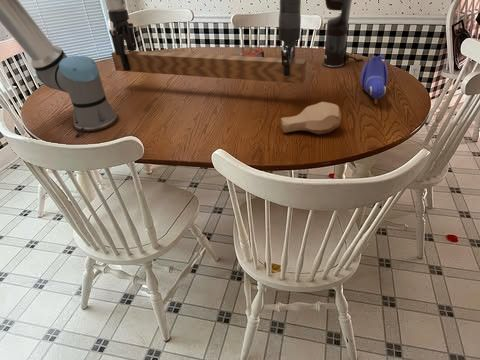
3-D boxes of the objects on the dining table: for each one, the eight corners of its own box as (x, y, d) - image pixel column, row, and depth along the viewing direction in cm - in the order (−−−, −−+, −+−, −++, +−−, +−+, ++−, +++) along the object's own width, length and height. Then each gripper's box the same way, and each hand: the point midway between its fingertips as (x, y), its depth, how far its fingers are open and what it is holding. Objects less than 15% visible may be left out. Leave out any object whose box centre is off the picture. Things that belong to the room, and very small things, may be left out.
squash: (345, 135, 116) (346, 113, 109) (284, 145, 118) (282, 124, 111) (337, 115, 123) (337, 93, 117) (280, 125, 125) (277, 104, 119)
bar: (115, 70, 155) (111, 53, 150) (121, 67, 158) (117, 49, 154) (302, 83, 132) (304, 63, 127) (305, 79, 135) (306, 59, 131)
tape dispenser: (256, 76, 167) (275, 61, 180) (255, 65, 164) (276, 50, 176) (225, 69, 175) (246, 55, 187) (224, 59, 171) (245, 45, 184)
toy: (357, 95, 150) (363, 108, 128) (360, 53, 144) (367, 59, 122) (382, 94, 148) (392, 108, 126) (386, 52, 142) (398, 58, 119)
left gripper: (112, 14, 133) (126, 75, 147) (137, 5, 147) (148, 62, 160) (95, 14, 135) (111, 74, 149) (122, 5, 149) (134, 61, 162)
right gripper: (296, 30, 117) (294, 80, 127) (304, 20, 128) (301, 67, 138) (273, 30, 119) (273, 79, 129) (283, 20, 130) (282, 66, 140)
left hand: (130, 68), depth 154 cm, fingers closed on bar, 5 cm apart
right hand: (288, 72), depth 133 cm, fingers closed on bar, 4 cm apart
